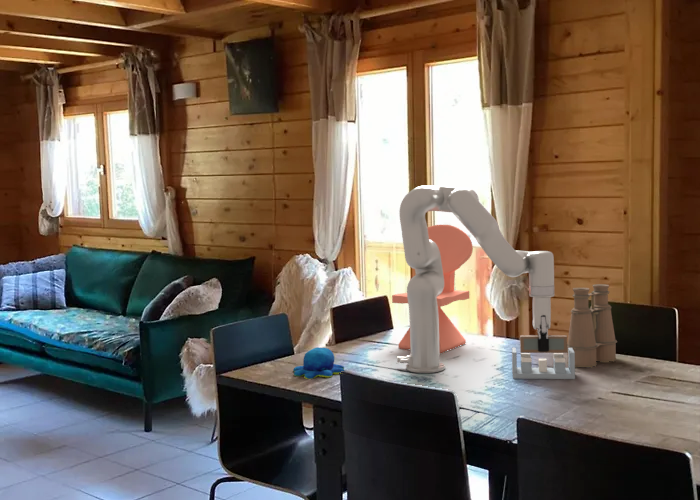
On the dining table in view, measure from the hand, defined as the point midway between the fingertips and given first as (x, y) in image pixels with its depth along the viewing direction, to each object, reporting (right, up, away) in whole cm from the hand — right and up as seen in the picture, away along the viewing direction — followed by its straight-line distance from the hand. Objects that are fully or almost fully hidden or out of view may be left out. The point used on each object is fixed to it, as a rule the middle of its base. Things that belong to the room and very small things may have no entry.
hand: (543, 349), depth 234 cm
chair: (-28, -5, +50) cm, 57 cm away
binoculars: (+20, -6, +16) cm, 27 cm away
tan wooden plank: (0, -1, 0) cm, 1 cm away
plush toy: (-70, -10, +15) cm, 72 cm away
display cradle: (0, -8, +1) cm, 8 cm away
